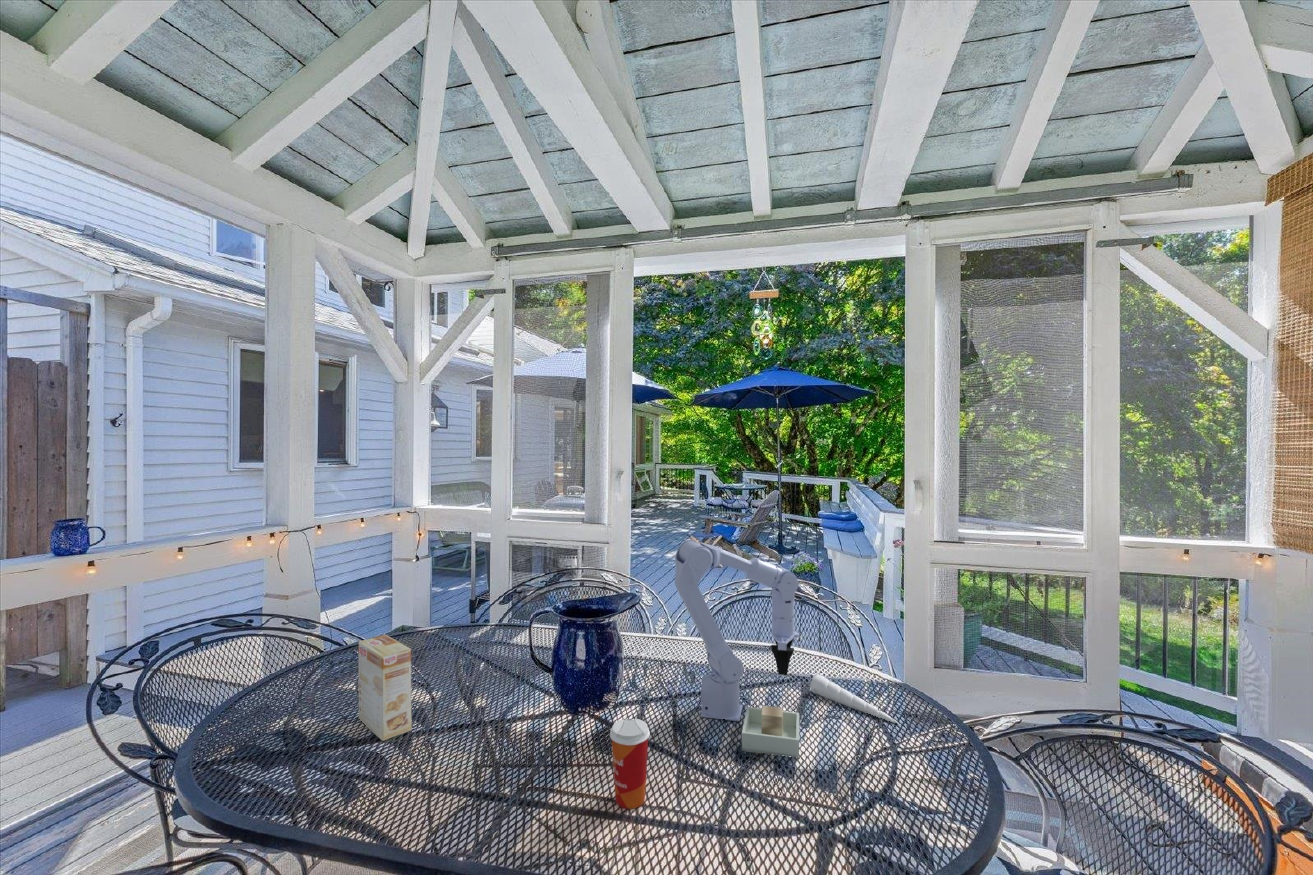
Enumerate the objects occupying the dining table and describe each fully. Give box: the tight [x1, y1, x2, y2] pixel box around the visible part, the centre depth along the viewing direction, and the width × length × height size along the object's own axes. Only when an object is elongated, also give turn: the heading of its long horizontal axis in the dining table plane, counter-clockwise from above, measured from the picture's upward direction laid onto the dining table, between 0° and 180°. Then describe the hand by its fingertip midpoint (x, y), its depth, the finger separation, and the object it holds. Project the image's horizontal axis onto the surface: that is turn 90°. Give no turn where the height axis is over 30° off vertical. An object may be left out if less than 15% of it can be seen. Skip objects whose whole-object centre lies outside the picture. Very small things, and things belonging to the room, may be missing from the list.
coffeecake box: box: [357, 634, 413, 742], centre depth 136 cm, size 15×7×20 cm, turn 47°
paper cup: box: [609, 718, 651, 810], centre depth 108 cm, size 8×8×14 cm
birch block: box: [762, 705, 784, 737], centre depth 128 cm, size 4×4×6 cm
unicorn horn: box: [810, 674, 900, 725], centre depth 144 cm, size 5×24×5 cm, turn 37°
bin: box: [741, 706, 800, 759], centre depth 128 cm, size 12×12×4 cm
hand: (783, 667), depth 145 cm, fingers open, 7 cm apart
